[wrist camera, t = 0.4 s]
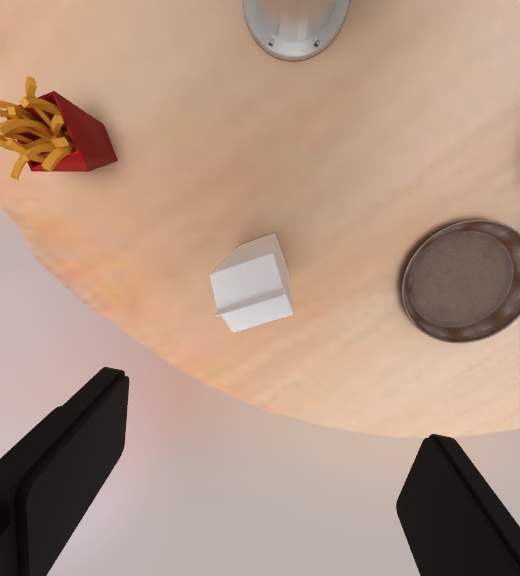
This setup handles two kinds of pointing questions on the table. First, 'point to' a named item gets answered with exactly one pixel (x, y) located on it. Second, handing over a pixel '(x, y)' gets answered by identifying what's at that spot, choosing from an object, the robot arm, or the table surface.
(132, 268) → the table surface
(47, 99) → the french fries
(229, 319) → the milk
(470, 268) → the plant saucer
